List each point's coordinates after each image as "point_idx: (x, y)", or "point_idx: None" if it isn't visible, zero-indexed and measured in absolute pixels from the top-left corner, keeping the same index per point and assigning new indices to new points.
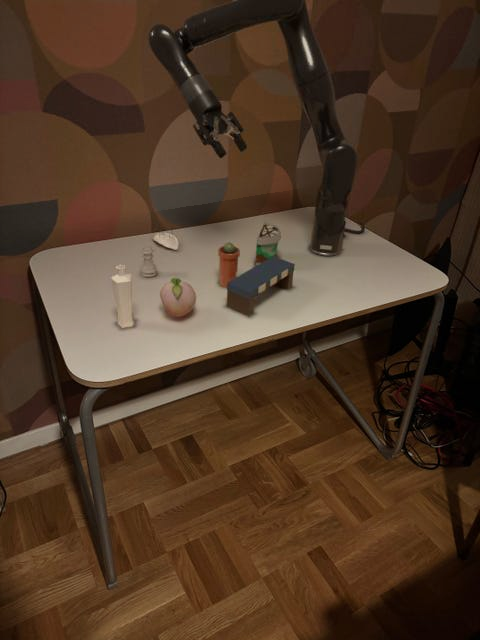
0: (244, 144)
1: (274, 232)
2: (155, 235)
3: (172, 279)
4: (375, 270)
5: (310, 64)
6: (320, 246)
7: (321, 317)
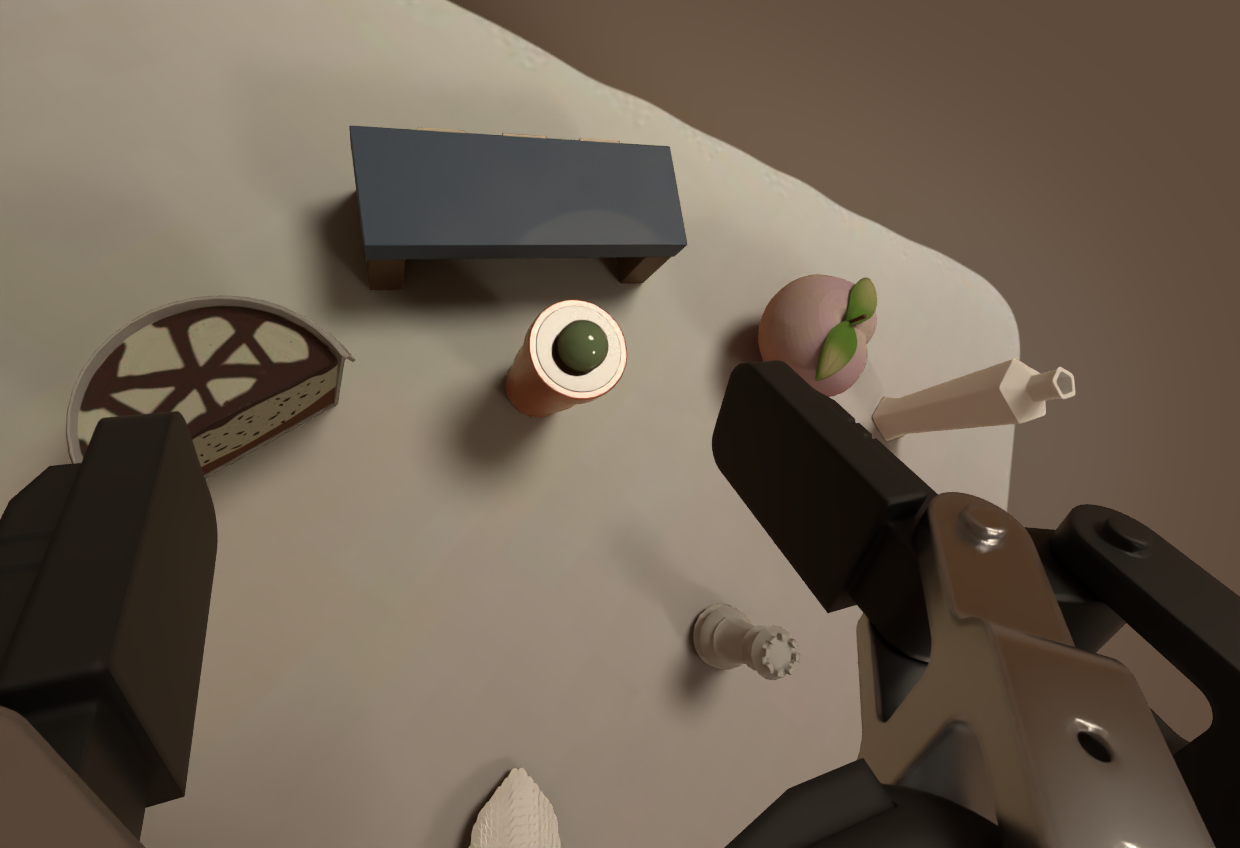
0: (143, 443)
1: (157, 355)
2: None
3: (850, 352)
4: None
5: None
6: None
7: (450, 14)
